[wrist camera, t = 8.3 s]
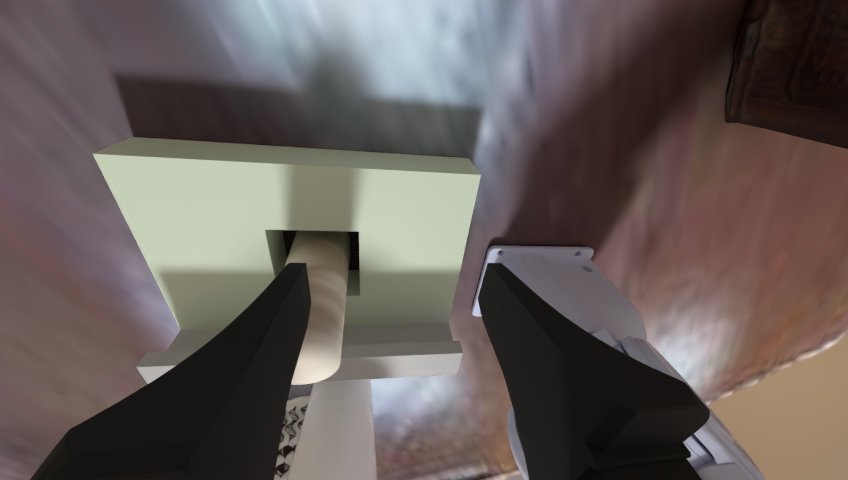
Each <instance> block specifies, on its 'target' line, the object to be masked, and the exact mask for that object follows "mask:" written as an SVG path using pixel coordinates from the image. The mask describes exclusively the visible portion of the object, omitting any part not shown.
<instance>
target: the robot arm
mask: <svg viewBox="0 0 848 480" xmlns="http://www.w3.org/2000/svg"><path fill="white" fill-rule="evenodd" d="M501 250H502V251H501ZM499 251H501V252H500V253H498V252H499ZM577 252H578V253H577ZM593 254H594V250H593V249H592V248H590V247H552V246H491V247H490V248H489V249H488V252H487V255H486V259H485V263H484V266H483V270H482V274H481V277H480V281H479V285H478V289H477V292H476V296H475V300H474V303H473V307H472V314H473V315H474V316H482V319H483V322H484V325H485V328H486V330H487V333H488V335H489V338H490V341H491V343H492V346H493V348H494V351H495V353H496V356H497V358H498V361H499V364H500V366H501V369H502V372H503V375H504V377H505V381H506V384H507V388H508V391H509V395H510V398H511V402H512V407H511V408H510V409H509V412H508V437H509V442H510V446H511V450H512V453H513V456H514V458H515V461H516V463H517V466H518V468H519V470H520V472H521V474H522V476H523V477H524V479H525V480H765V477H764V476H763V474H762V472H761V471H760V470H759V468H758V467H757V465H756V464H755V463H754V462H753V460H752V459H751V458H750V456H749V455H748V454H747V453H746V452H745V450H744V449H743V448H742V447H741V446H740V445H739V444H738V442H736V440H735V439H734V438H733V436H732V435H731V433H730V432H729V431H728V430H727V428H726V427H725V426H724V424H723V423H722V422H721V421H720V420H719V418H718V417H717V416H716V415H715V414H714V412H713V411H712V410H711V409H710V408H709V407H708V405H707V404H706V403H705V402H704V401H703V400H702V399H701V397H700V396H699V395H698V394H697V393H696V392H695V391H694V390H693V388H692V387H691V386H690V385H689V384H688V383H687V382H686V381H685V380H684V379H683V377H682V376H681V375H680V374H679V373H678V372H677V371H676V370H675V369H674V368H673V367H672V366H671V365H670V363H669V362H668V361H667V360H666V359H665V358H664V357H663V356H662V355H661V354H660V353H659V352H658V351H657V350H656V349H655V348H654V347H653V346H652V345H651V344H650V343H649V342H648V341H647V336H646V330H645V327H644V324H643V321H642V318H641V316H640V314H639V313H638V311H637V309H636V308H635V307H634V305H633V304H632V303H631V302H630V301H629V300H628V299H627V298H626V297H625V296H624V295H623V293H622V292H621V291H620V290H619V289H618V288H617V287H616V286H615V285H614V284H613V283H612V282H611V281H610V280H609V279H608V278H607V276H606V275H605V274H604V273H603V272H602V271H601V270H600V269H599V268H598V267H597V266H596V265H595V264H594V263H593V262H592V261H591V258H592V256H593ZM310 309H311V294H310V287H309V280H308V273H307V266H306V263H288V264H287V265H286V266H285V267H284V268H283V269H282V271H281V272H280V273H279V274H278V275H277V276H276V278H275V279H274V280H273V281H272V282H271V283H270V284H269V285H268V286H267V288H266V289H265V290H264V291H263V292H262V293H261V294H260V295H259V296H258V297H257V298H256V299H255V300H254V301H253V302H252V303H251V304H250V305H249V306H248V307H247V308H246V309H245V310H244V311H243V312H242V313H241V314H240V315H239V316H238V317H237V318H236V319H234V320H233V321H232V322H231V323H230V324H229V325H228V326H227V327H226V328H224V329H223V330H222V331H221V332H220V333H219V334H217V335H216V336H215V337H214V338H212V339H211V340H210V341H209V342H208V343H206V344H205V345H204V346H202V347H201V348H200V349H198V350H197V351H196V352H194V353H193V354H192V355H190V356H189V357H187V358H186V359H185V360H183V361H182V362H180V363H179V364H178V365H176V366H175V367H173V368H172V369H171V370H169V371H168V372H166V373H165V374H163V375H161V376H160V377H158V378H157V379H155V380H154V381H152V382H151V383H149V384H147V385H146V386H144V387H143V388H141V389H139V390H138V391H136V392H135V393H133V394H131V395H130V396H128V397H126V398H125V399H123V400H121V401H120V402H118V403H116V404H114V405H113V406H111V407H109V408H107V409H105V410H104V411H102V412H100V413H98V414H97V415H95V416H93V417H91V418H90V419H88V420H86V421H84V422H82V423H81V424H79V425H77V426H75V427H73V428H71V429H70V430H69V431H68V432H67V433H66V434H65V435H64V437H63V438H62V439H61V440H60V442H59V443H58V444H57V445H56V446H55V448H54V449H53V450H52V451H51V453H50V454H49V455H48V457H47V458H46V459H45V461H44V462H43V463H42V465H41V466H40V467H39V469H38V470H37V471H36V472H35V474H34V475H33V476H32V478H31V479H30V480H274V476H275V469H276V463H277V456H278V450H279V444H280V439H281V433H282V427H283V421H284V416H285V410H286V405H287V400H288V395H289V390H290V386H291V382H292V379H293V375H294V372H295V368H296V365H297V361H298V358H299V355H300V351H301V348H302V344H303V341H304V337H305V334H306V330H307V327H308V321H309V315H310Z"/></svg>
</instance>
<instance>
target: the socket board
mask: <svg viewBox="0 0 848 480" xmlns="http://www.w3.org/2000/svg"><path fill="white" fill-rule="evenodd" d="M93 155H94V157H95V159H96V161H97V163H98V165H99V167H100V169H101V171H102V173H103V175H104V177H105V179H106V181H107V183H108V185H109V187H110V189H111V191H112V193H113V195H114V197H115V199H116V201H117V203H118V205H119V207H120V209H121V211H122V213H123V215H124V217H125V219H126V221H127V223H128V225H129V228H130V230H131V232H132V234H133V236H134V238H135V240H136V242H137V244H138V246H139V248H140V250H141V252H142V254H143V256H144V258H145V260H146V262H147V264H148V266H149V268H150V270H151V272H152V274H153V276H154V278H155V280H156V282H157V284H158V286H159V288H160V290H161V292H162V294H163V296H164V298H165V300H166V302H167V304H168V306H169V308H170V310H171V312H172V314H173V316H174V318H175V320H176V322H177V324H178V326H179V328H180V332H179V333H178V335H177V336H176V338H175V339H174V341H173V342H172V344H171V345H170V347H169V348H168V350H167V351H166V352H152V353H146V354H145V356H144V357H143V359H142V360H141V361H140V363H139V364H138V365H137V367H136V368H137V369H138V371H139V372H140V373H141V375H142V376H143V378H144V379H145V381H146V382H147V384H149V383H151V382H152V381H154V380H155V379H157V378H158V377H160V376H161V375H163V374H165V373H166V372H168V371H169V370H171V369H172V368H173V367H175V366H176V365H178V364H179V363H180V362H182V361H183V360H185V359H186V358H187V357H189V356H190V355H192V354H193V353H194V352H196V351H197V350H198V349H200V348H201V347H202V346H204V345H205V344H206V343H208V342H209V341H210V340H211V339H212V338H214V337H215V336H216V335H217V334H219V333H220V332H221V331H222V330H223V329H224V328H226V327H227V326H228V325H229V324H230V323H231V322H232V321H233V320H234V319H236V318H237V317H238V316H239V315H240V314H241V313H242V312H243V311H244V310H245V309H246V308H247V307H248V306H249V305H250V304H251V303H252V302H253V301H254V300H255V299H256V298H257V297H258V296H259V295H260V294H261V293H262V292H263V291H264V290H265V289H266V288H267V286H268V285H269V284H270V283H271V282H272V281H273V280H274V279H275V278H276V276H277V275H278V274H279V273H280V272H281V271H282V269H283V268H284V267H285V264H286V261H287V254H286V248H285V242H284V237H283V231H282V230H305V231H351V232H359V265H360V270H349V271H348V282H347V294H346V305H345V316H344V327H343V339H342V350H341V361H340V366H339V368H338V370H337V371H336V372H335V373H334V374H333V375H332V376H330V377H328V378H327V379H324V380H322V381H319V382H324V381H343V380H361V379H379V378H398V377H416V376H435V375H453V374H457V372H458V369H459V365H460V361H461V358H462V354H463V352H462V348H461V344H460V341H453V339H452V334H451V330H450V326H449V319H450V315H451V310H452V306H453V301H454V296H455V292H456V287H457V283H458V278H459V274H460V269H461V264H462V260H463V255H464V251H465V246H466V241H467V237H468V232H469V228H470V223H471V218H472V214H473V209H474V205H475V200H476V196H477V191H478V186H479V182H480V177H481V174H480V173H479V172H478V170H477V169H476V167H475V166H474V165H473V163H472V162H471V161H470V159H469V158H458V157H442V156H426V155H411V154H395V153H379V152H363V151H348V150H332V149H316V148H300V147H285V146H269V145H253V144H237V143H221V142H206V141H190V140H174V139H158V138H143V137H132V138H129V139H127V140H124V141H122V142H120V143H117V144H115V145H113V146H110V147H108V148H105V149H103V150H101V151H98V152H96V153H93Z"/></svg>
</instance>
